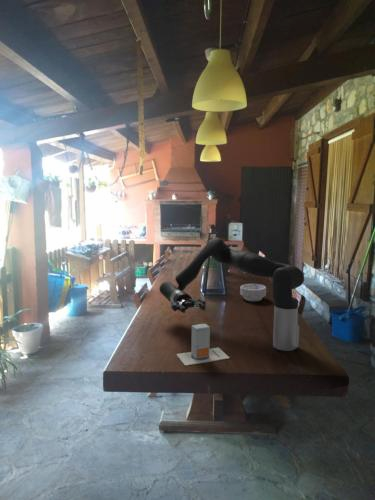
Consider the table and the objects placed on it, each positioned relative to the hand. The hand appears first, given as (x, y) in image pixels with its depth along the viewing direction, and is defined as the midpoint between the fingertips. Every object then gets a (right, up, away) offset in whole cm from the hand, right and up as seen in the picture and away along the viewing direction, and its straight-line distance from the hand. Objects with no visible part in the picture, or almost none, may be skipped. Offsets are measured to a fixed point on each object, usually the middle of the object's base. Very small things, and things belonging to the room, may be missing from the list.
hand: (194, 309), depth 150 cm
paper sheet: (+3, -17, -9) cm, 19 cm away
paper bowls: (+36, -5, +68) cm, 77 cm away
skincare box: (+2, -17, -9) cm, 19 cm away
